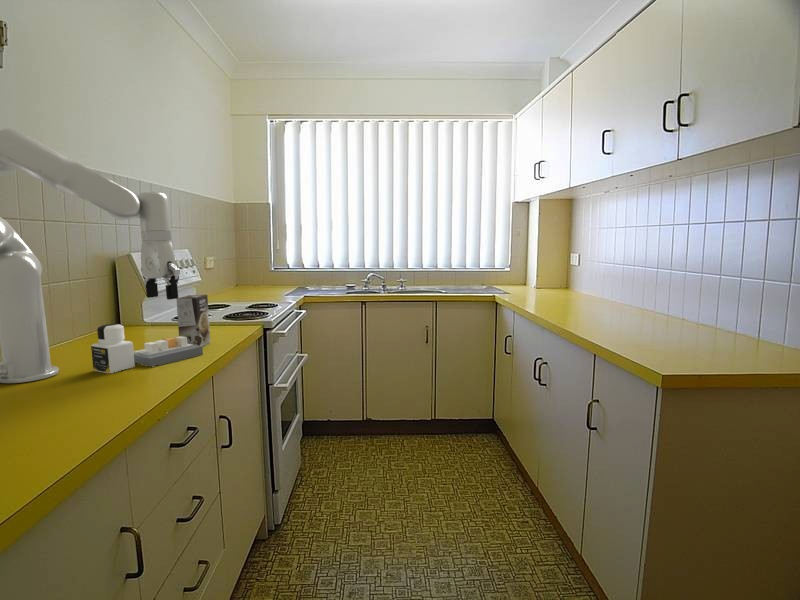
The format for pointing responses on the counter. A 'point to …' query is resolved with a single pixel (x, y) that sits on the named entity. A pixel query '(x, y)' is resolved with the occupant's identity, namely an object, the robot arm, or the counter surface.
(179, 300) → the coffee box
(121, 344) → the medicine bottle
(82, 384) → the counter surface
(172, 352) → the breaker panel
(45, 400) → the counter surface
